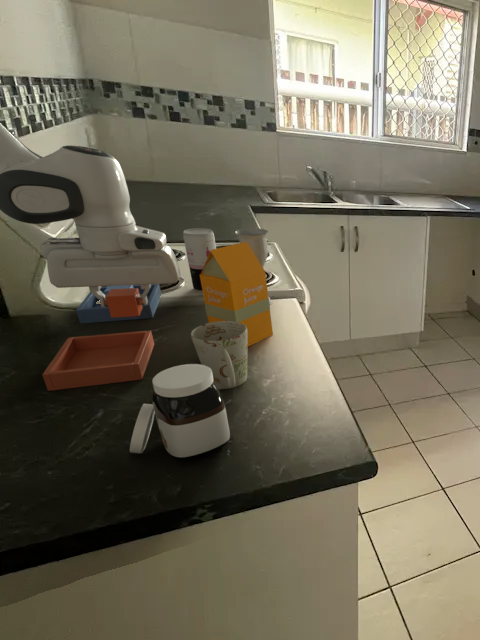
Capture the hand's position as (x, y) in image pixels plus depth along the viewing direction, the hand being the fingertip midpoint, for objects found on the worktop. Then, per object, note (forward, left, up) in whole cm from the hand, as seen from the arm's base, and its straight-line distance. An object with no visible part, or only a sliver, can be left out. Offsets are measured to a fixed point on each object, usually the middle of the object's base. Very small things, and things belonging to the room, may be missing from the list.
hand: (125, 304), depth 96 cm
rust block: (0, 0, -2) cm, 2 cm away
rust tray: (-2, -15, -6) cm, 16 cm away
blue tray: (-4, +14, -6) cm, 16 cm away
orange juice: (+20, -9, -6) cm, 23 cm away
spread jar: (+12, -45, -6) cm, 47 cm away
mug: (+18, -29, -6) cm, 35 cm away
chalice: (+24, +11, -6) cm, 27 cm away
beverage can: (+12, +25, -6) cm, 28 cm away
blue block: (-4, +14, -5) cm, 15 cm away
